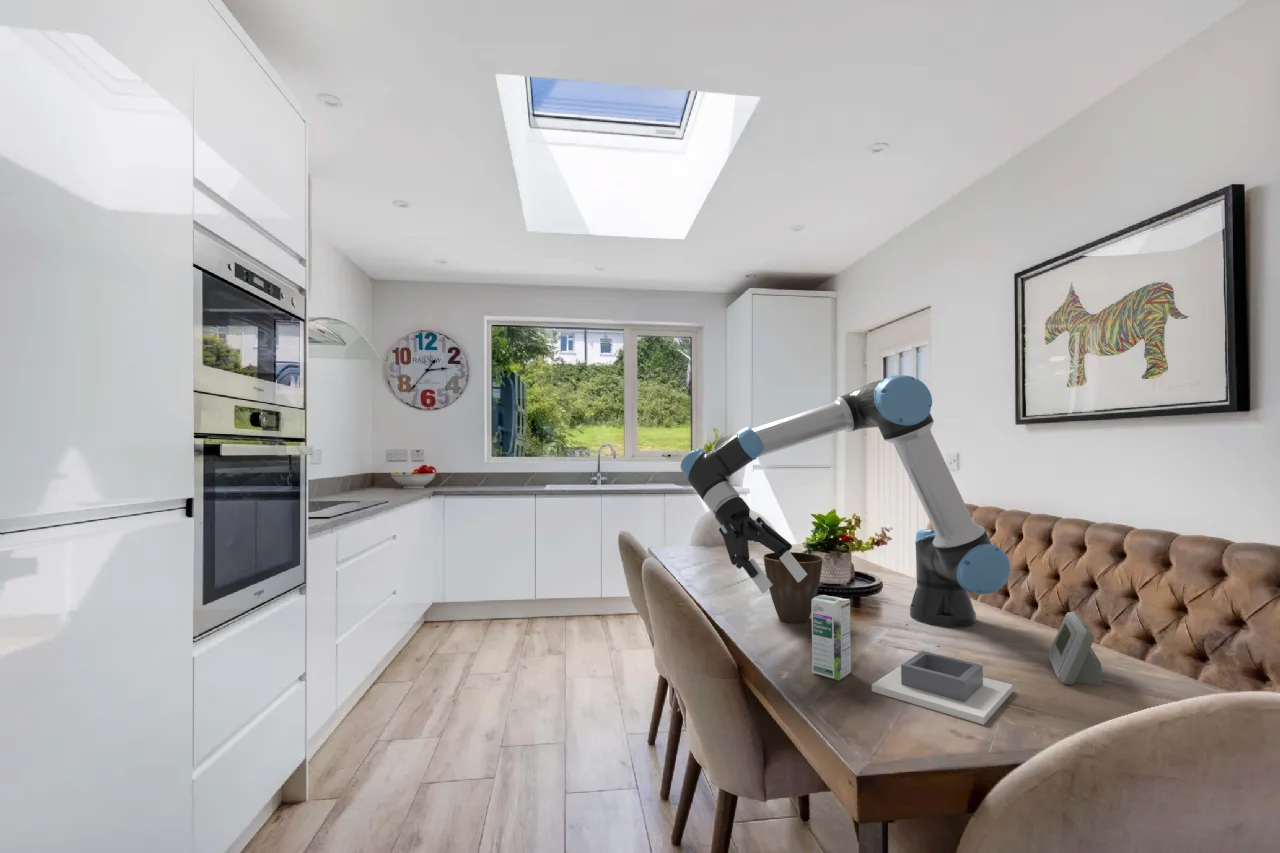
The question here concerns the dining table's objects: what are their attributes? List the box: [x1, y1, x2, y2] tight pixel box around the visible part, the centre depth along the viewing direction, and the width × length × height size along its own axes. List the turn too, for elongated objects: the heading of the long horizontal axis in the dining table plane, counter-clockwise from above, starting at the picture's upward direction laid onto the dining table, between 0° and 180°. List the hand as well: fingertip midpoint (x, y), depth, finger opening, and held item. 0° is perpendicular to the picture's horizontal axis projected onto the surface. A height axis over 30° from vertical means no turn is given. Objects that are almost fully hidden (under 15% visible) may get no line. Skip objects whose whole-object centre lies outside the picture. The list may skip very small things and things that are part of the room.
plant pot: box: [762, 551, 824, 624], centre depth 149 cm, size 15×15×16 cm
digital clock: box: [1048, 611, 1103, 687], centre depth 112 cm, size 16×9×11 cm, turn 139°
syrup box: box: [811, 594, 852, 681], centre depth 113 cm, size 6×6×14 cm
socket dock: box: [871, 650, 1014, 726], centre depth 104 cm, size 18×18×5 cm
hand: (786, 583), depth 120 cm, fingers open, 13 cm apart
